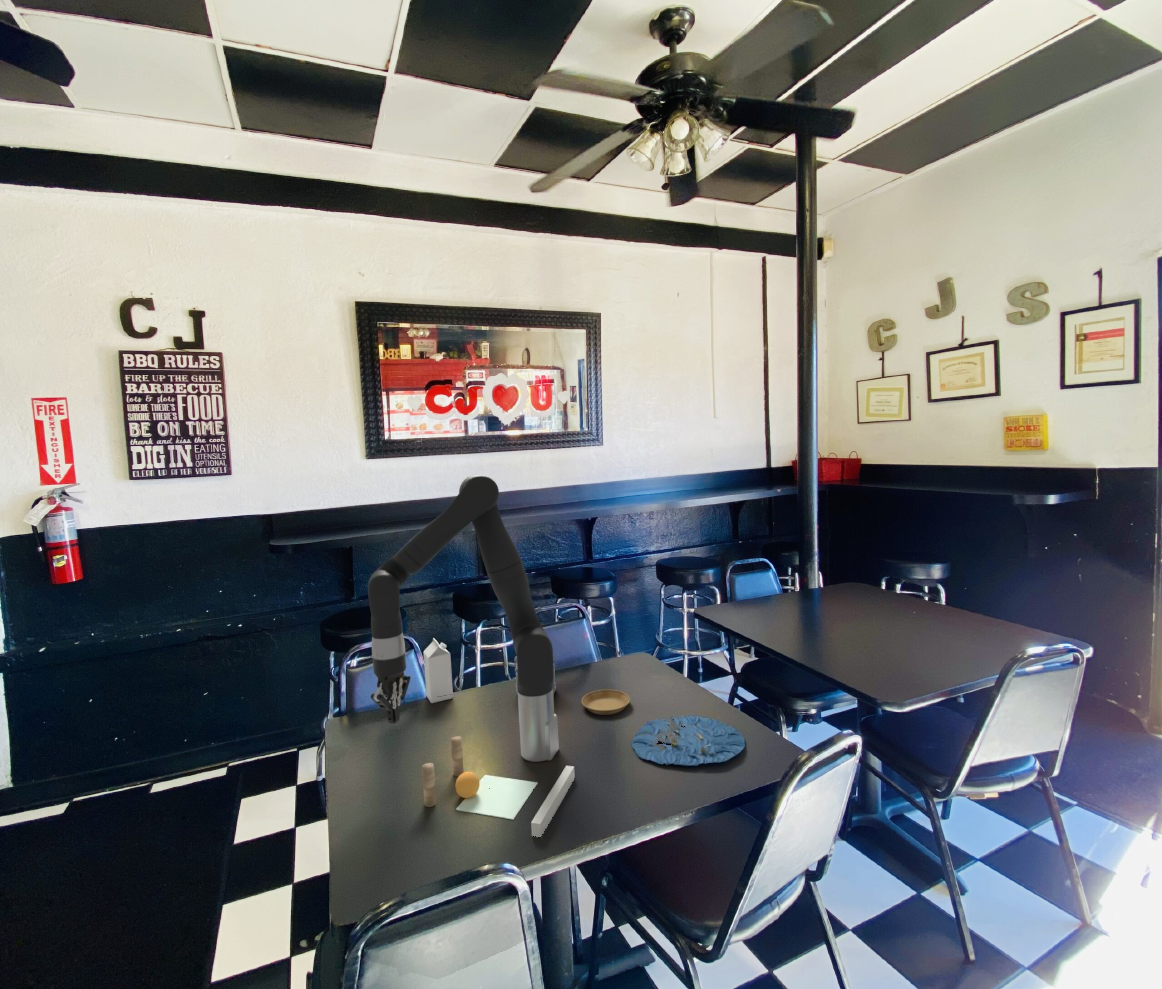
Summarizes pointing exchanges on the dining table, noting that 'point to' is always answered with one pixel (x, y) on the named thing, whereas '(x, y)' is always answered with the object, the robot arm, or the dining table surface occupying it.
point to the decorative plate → (689, 741)
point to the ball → (467, 784)
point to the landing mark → (498, 797)
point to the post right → (457, 755)
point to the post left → (429, 784)
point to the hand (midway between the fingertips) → (394, 721)
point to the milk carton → (438, 672)
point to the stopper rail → (552, 802)
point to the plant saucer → (605, 701)
